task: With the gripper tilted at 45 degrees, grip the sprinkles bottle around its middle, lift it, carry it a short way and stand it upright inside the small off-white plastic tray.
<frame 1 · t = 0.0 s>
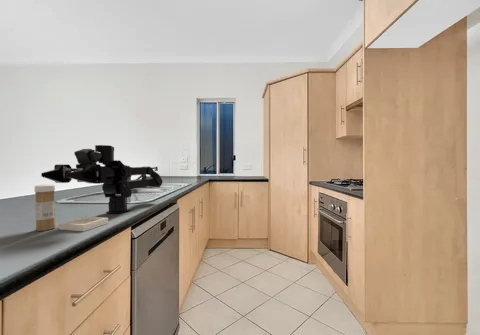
hand: (54, 174, 65), 17 cm above the countertop, tool horizontal, fingers open, 9 cm apart
tray: (84, 226, 70), on the countertop
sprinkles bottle: (45, 229, 67), on the countertop
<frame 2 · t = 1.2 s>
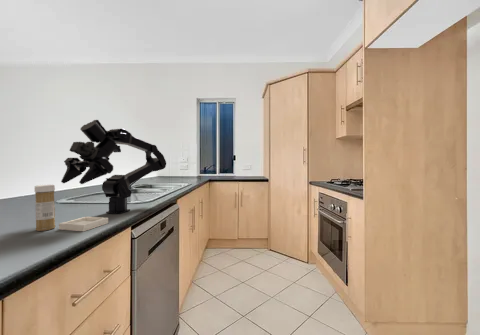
hand: (71, 182, 73), 13 cm above the countertop, tool tilted 45°, fingers open, 9 cm apart
nothing on the countertop moved.
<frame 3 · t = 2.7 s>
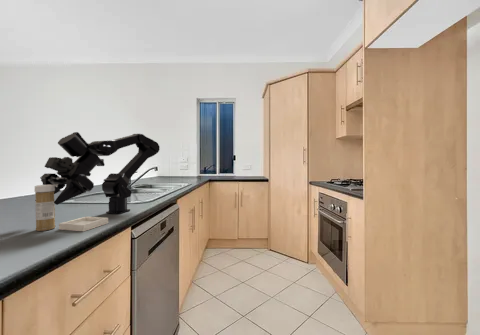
hand: (45, 202, 67), 8 cm above the countertop, tool tilted 45°, fingers open, 9 cm apart
nothing on the countertop moved.
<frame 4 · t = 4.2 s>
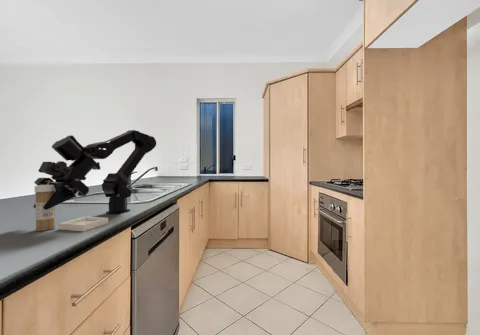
hand: (39, 208, 65), 7 cm above the countertop, tool tilted 45°, fingers closed on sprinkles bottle, 4 cm apart
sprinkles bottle: (45, 229, 67), on the countertop, touching gripper
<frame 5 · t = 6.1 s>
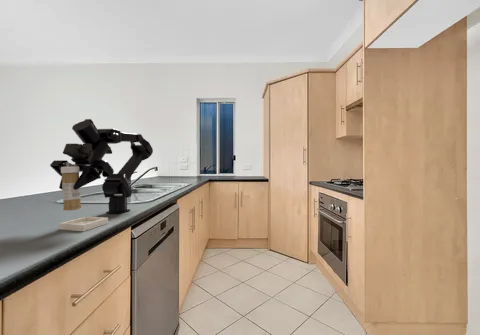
hand: (67, 188, 67), 12 cm above the countertop, tool tilted 45°, fingers closed on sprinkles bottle, 4 cm apart
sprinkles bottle: (72, 210, 68), point 5 cm above the countertop, touching gripper
when the fingers open (8 cm above the countertop, at t = 8.1 s): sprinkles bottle stays where it is, resting on tray.
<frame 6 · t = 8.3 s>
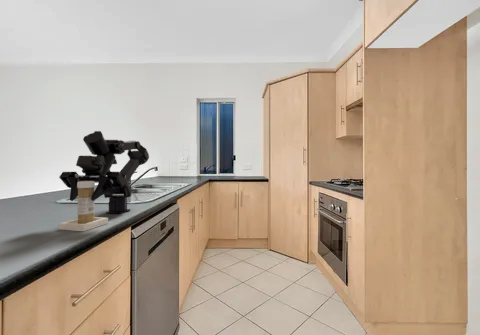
hand: (81, 200, 68), 9 cm above the countertop, tool tilted 45°, fingers open, 6 cm apart
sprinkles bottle: (86, 224, 70), point 1 cm above the countertop, touching tray
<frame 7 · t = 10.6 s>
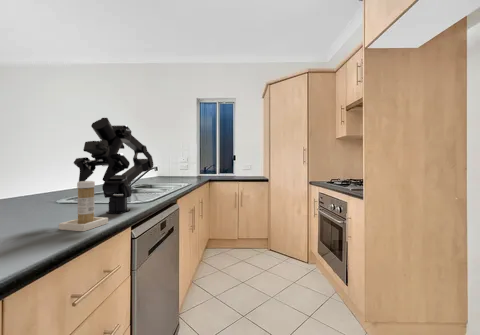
hand: (91, 181, 75), 14 cm above the countertop, tool tilted 40°, fingers open, 9 cm apart
nothing on the countertop moved.
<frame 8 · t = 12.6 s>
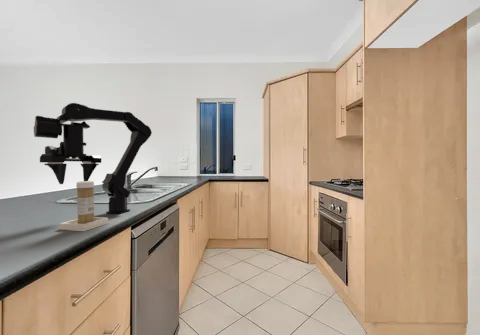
hand: (74, 182, 79), 13 cm above the countertop, tool pointing down, fingers open, 9 cm apart
nothing on the countertop moved.
at the end: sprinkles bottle 0.3 cm off-centre on the tray, point 0.6 cm above the tray's base; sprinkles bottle tilted 1°; the gripper is holding nothing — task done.
